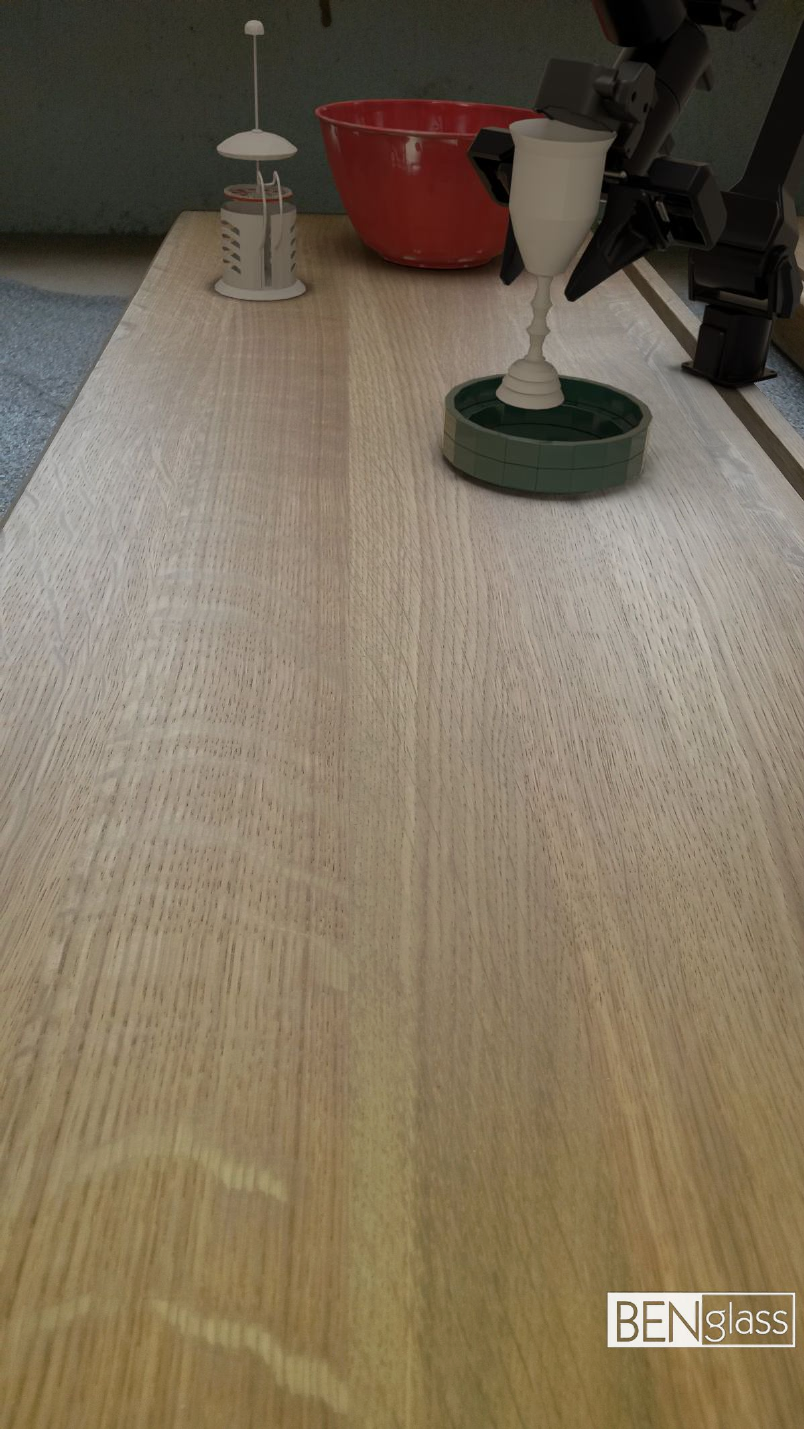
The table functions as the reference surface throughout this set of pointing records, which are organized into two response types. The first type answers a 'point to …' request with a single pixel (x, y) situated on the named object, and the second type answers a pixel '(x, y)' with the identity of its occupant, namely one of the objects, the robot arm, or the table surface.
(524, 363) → the chalice
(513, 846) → the table surface
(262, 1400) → the table surface
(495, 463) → the dish
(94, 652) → the table surface
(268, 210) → the french press
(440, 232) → the mixing bowl
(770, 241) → the robot arm
